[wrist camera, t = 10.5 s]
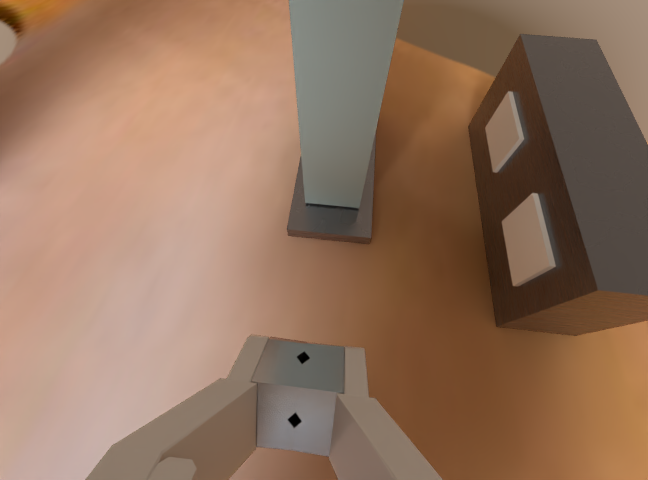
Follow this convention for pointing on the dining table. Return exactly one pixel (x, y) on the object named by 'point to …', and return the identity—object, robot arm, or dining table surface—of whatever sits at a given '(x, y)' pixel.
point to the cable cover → (340, 90)
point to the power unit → (562, 191)
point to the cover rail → (333, 213)
